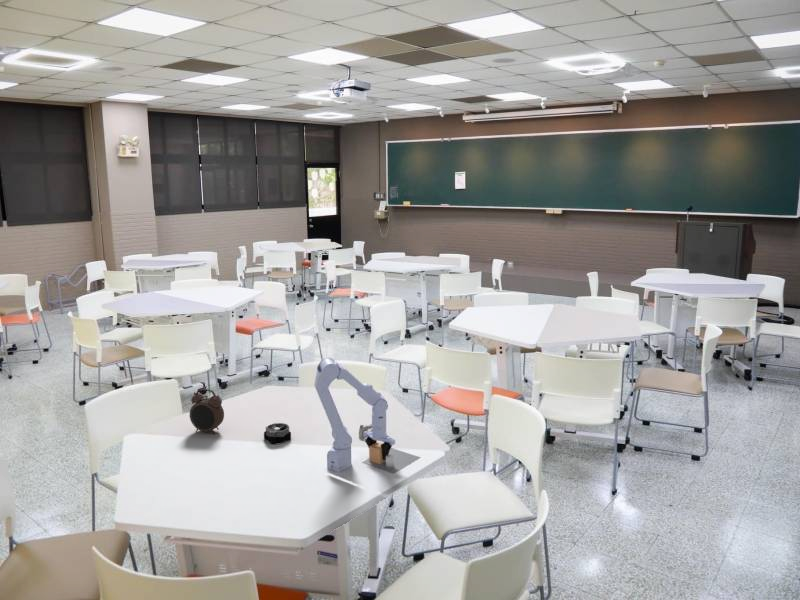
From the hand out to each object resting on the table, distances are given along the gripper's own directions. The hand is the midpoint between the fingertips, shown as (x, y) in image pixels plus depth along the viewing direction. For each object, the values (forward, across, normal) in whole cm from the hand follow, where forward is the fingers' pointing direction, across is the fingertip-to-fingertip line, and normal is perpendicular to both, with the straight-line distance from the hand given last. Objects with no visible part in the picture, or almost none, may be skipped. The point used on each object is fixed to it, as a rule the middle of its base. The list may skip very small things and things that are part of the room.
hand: (379, 457), depth 245 cm
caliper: (+3, +23, -22) cm, 32 cm away
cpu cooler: (+2, +49, +9) cm, 50 cm away
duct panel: (+2, -4, -3) cm, 5 cm away
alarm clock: (+2, +80, +23) cm, 83 cm away
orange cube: (+1, 0, 0) cm, 1 cm away
